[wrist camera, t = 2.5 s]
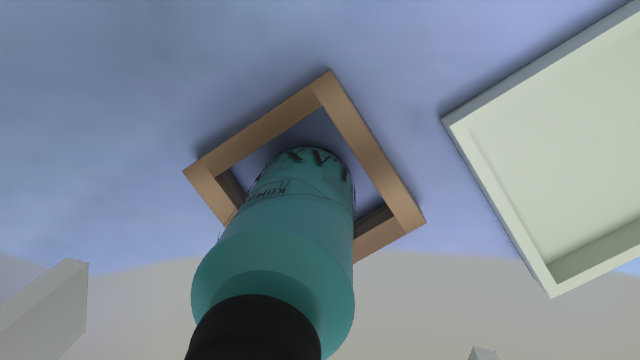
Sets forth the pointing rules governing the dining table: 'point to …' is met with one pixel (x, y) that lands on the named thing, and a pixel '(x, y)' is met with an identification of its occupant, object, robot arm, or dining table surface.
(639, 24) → the tray
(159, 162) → the dining table surface
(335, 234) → the beverage bottle
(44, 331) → the robot arm
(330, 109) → the socket block
